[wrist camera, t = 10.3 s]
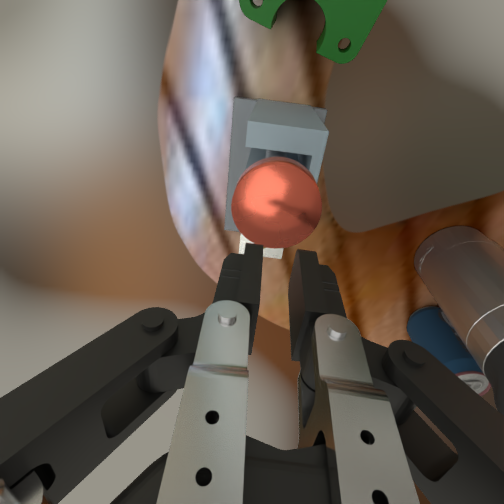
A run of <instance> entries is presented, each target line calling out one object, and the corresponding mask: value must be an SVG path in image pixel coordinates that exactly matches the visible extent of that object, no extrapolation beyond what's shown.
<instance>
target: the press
mask: <svg viewBox="0 0 504 504" xmlns="http://www.w3.org/2000/svg"><path fill="white" fill-rule="evenodd" d="M326 114H327V109H325V108H318V107H311V106H310V105H303V104H295V103H288V102H280V101H273V100H265V99H258V100H257V99H250V98H242V97H234V103H233V117H232V131H231V145H230V159H229V173H228V187H227V200H226V214H225V228H224V230H230V231H237V232H240V231H239V230H238V228H237V227H236V225H235V223H234V220H233V217H232V212H231V203H232V197H233V194H234V191H235V188H236V185H237V182H238V180H239V178H240V176H241V175H242V173H243V172H244V171H245V170H246V169H247V168H248V167H249V166H250V165H252V164H253V163H255V162H257V161H259V160H262V159H264V158H266V149H267V150H274V151H282V152H287V158H290V159H293V160H295V161H297V162H299V163H301V164H302V165H304V166H305V167H306V168H307V169H308V170H309V171H310V172H311V174H312V175H313V177H314V179H315V181H316V183H317V181H318V177H319V172H320V168H321V164H322V160H323V155H324V151H325V147H326V142H327V138H328V134H329V131H328V129H327V128H326V126H325V125H324V123H325V118H326Z"/></svg>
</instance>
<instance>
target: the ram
mask: <svg viewBox="0 0 504 504" xmlns="http://www.w3.org/2000/svg"><path fill="white" fill-rule="evenodd" d="M231 212H232V217H233V220H234V223H235V225H236V227H237V228H238V230H239V231H240V232H241V234H242V235H243V236H244V237H245V238H247V239H248V240H249V241H251V242H253V243H254V244H261V245H264V247H266V248H274V249H276V248H286V247H290V246H293V245H296V244H298V243H300V242H301V241H303V240H304V239H306V238H307V237H308V236H309V235H310V234H311V233H312V232H313V231H314V229H315V228H316V226H317V224H318V222H319V220H320V217H321V212H322V201H321V196H320V193H319V189H318V186H317V183H316V181H315V179H314V177H313V175H312V174H311V172H310V171H309V170H308V169H307V168H306V167H305V166H304V165H302V164H301V163H299V162H297V161H295V160H293V159H290V158H287V152H282V151H274V150H267V149H266V158H264V159H262V160H259V161H257V162H255V163H253V164H252V165H250V166H249V167H248V168H247V169H246V170H245V171H244V172H243V173H242V175H241V176H240V178H239V180H238V182H237V185H236V188H235V191H234V194H233V197H232V203H231Z"/></svg>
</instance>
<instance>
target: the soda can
mask: <svg viewBox="0 0 504 504" xmlns="http://www.w3.org/2000/svg"><path fill="white" fill-rule="evenodd" d="M407 332H408V334H409V336H410V338H411V340H412V342H413V343H416V344H418V345H420V346H422V347H423V348H425V349H426V350H427V351H429V352H430V353H431V354H432V355H433V356H434V357H436V358H437V359H438V360H439V361H440V362H441V363H442V364H444V365H445V366H446V367H447V368H448V369H449V370H451V371H452V372H453V373H454V374H455V375H456V376H458V377H459V378H460V379H461V380H462V381H463V382H465V383H466V384H467V385H468V386H469V387H470V388H472V389H473V390H474V391H475V392H476V393H477V394H478V395H480V396H482V395H484V394H486V393H487V392H488V391H489V390H490V388H491V384H490V383H489V381H488V380H487V378H486V376H485V375H484V373H483V372H482V370H481V369H480V367H479V366H478V364H477V363H476V361H475V360H474V358H473V357H472V355H471V354H470V352H469V351H468V349H467V348H466V346H465V345H464V343H463V342H462V340H461V339H460V337H459V335H458V334H457V332H456V331H455V329H454V328H453V326H452V325H451V323H450V322H449V320H448V319H447V317H446V316H445V314H444V313H443V311H442V310H441V308H439V307H434V306H429V307H423V308H421V309H418V310H417V311H415V312H414V313H413V314H412V315H411V316H410V318H409V321H408V324H407Z"/></svg>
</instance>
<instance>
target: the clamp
mask: <svg viewBox="0 0 504 504" xmlns="http://www.w3.org/2000/svg"><path fill="white" fill-rule="evenodd" d="M284 1H286V0H263V3H262V5H261V6H256V5H255V4H254V3H253V0H239V3H240V7H241V10H242V12H243V13H244V15H245V16H246V17H247V18H249V19H251V20H253V21H255V22H257V23H259V24H261V25H263V26H265V27H267V28H269V29H271V28H272V26H273V25H274V23H275V21H276V16H277V12H278V9H279V6H280V5H281V4H282V3H283V2H284ZM315 1H316V2H317V3H318V4H319V5H320V7H321V8H322V10H323V12H324V15H325V19H326V20H325V26H324V29H323V32H322V34H321V36H320V37H319V39H318V40H317V50H316V53H318V54H320V55H322V56H324V57H326V58H328V59H330V60H332V61H334V62H336V63H339V64H344V63H348V62H350V61H351V60H353V59H354V58H355V57H356V55H357V54H358V52H359V51H360V49H361V47H362V45H363V43H364V42H365V39H366V38H367V36H368V34H369V33H370V31H371V29H372V27H373V25H374V24H375V22H376V20H377V18H378V16H379V14H380V13H381V11H382V9H383V7H384V5H385V4H386V2H387V0H315ZM343 38H348V39H349V40H350V43H349V45H348V47H347V48H345V49H340V48H339V47H338V43H339V41H340V40H341V39H343Z"/></svg>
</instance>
